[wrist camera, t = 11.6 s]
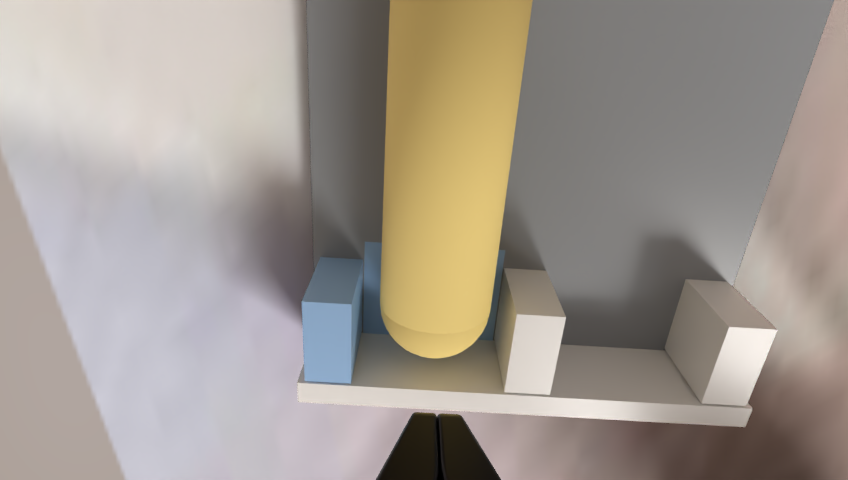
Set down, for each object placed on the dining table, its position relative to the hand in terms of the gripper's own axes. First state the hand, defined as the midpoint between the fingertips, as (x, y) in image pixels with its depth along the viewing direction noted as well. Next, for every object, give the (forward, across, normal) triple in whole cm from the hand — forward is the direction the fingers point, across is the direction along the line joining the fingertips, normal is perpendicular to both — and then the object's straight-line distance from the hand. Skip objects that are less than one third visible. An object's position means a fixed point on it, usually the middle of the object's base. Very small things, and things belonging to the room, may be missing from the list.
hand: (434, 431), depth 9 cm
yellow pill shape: (+10, 0, -3) cm, 10 cm away
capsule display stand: (+10, -3, -3) cm, 11 cm away
